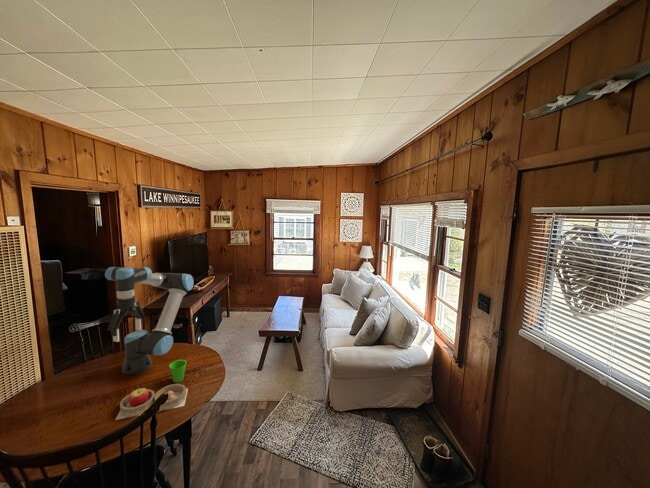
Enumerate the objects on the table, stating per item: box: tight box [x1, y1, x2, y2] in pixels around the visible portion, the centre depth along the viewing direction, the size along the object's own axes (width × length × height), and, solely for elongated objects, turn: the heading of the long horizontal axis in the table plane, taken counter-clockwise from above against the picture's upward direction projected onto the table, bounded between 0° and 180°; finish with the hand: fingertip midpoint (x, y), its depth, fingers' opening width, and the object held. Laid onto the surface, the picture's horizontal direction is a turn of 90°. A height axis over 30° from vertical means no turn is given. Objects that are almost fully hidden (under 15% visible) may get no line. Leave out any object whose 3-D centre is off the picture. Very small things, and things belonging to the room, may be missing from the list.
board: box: [114, 388, 189, 421], centre depth 133 cm, size 29×14×1 cm, turn 111°
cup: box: [168, 359, 188, 384], centre depth 152 cm, size 9×9×11 cm
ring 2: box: [154, 383, 187, 411], centre depth 135 cm, size 14×14×4 cm
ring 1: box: [119, 388, 156, 418], centre depth 130 cm, size 14×14×4 cm
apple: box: [128, 385, 149, 407], centre depth 131 cm, size 8×8×10 cm
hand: (127, 335), depth 139 cm, fingers open, 13 cm apart
